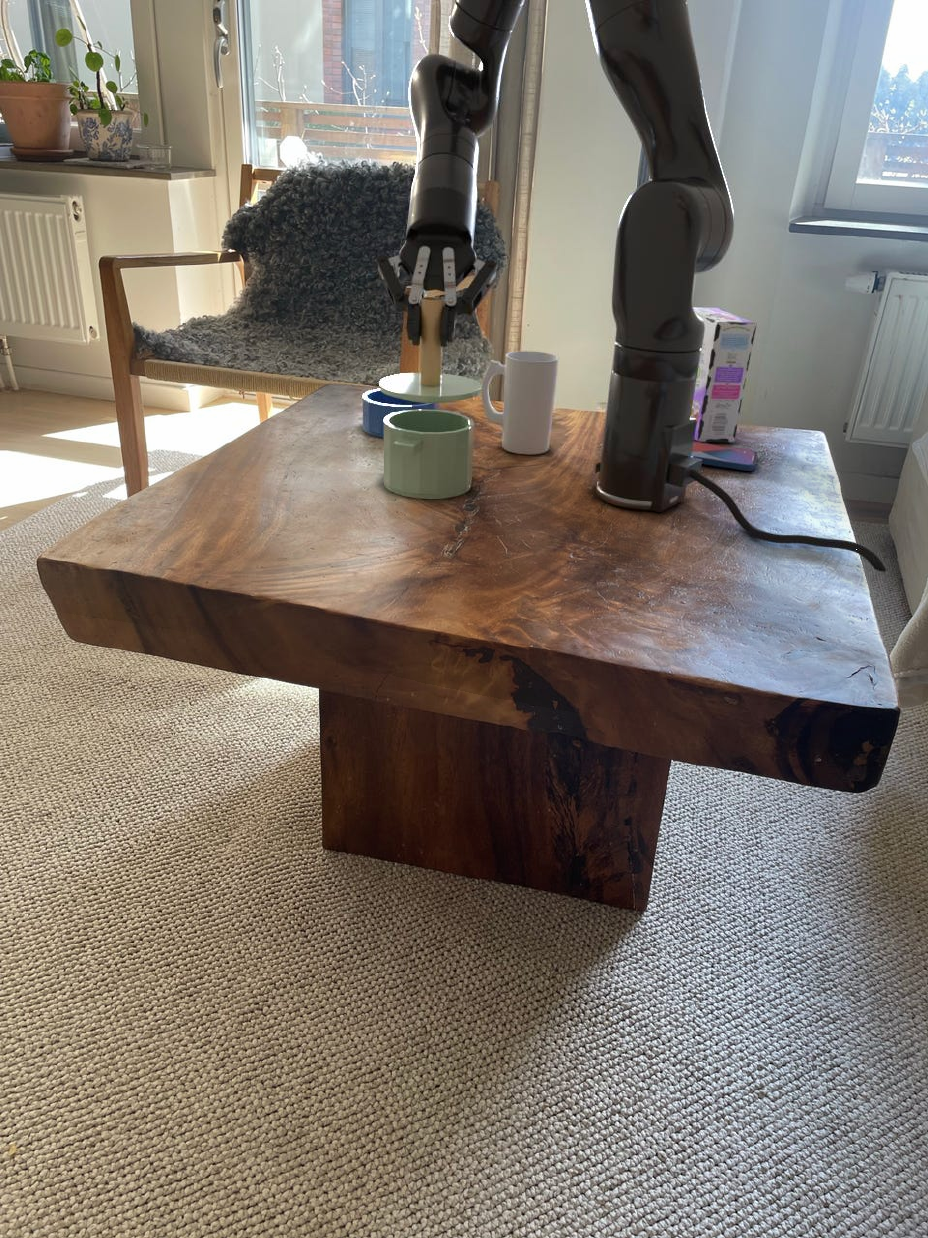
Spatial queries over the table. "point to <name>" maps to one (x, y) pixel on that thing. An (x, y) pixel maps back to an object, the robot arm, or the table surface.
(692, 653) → the table surface
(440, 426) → the pot
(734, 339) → the candy box
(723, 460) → the smartphone
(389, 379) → the lid
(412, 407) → the pan
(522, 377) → the mug
